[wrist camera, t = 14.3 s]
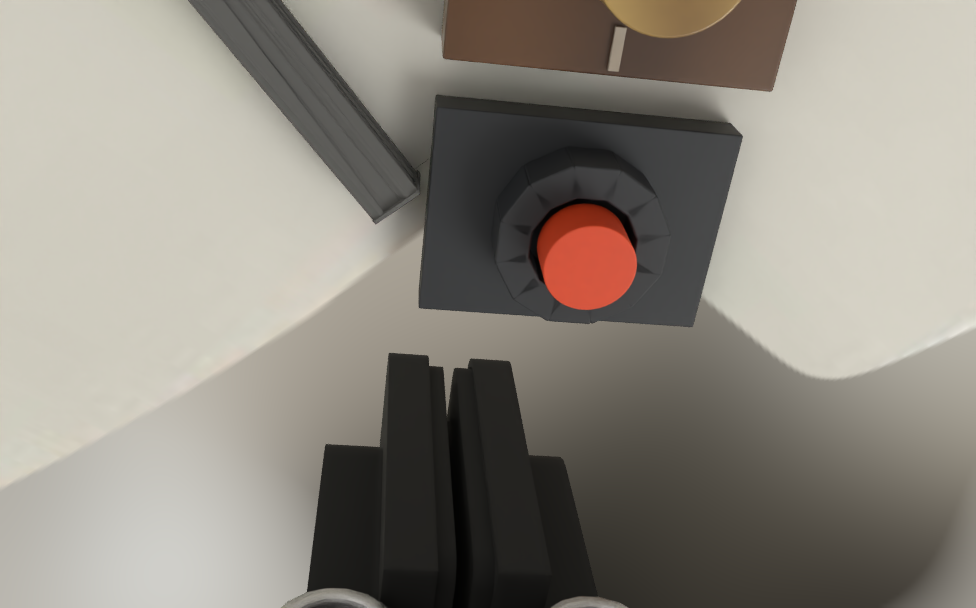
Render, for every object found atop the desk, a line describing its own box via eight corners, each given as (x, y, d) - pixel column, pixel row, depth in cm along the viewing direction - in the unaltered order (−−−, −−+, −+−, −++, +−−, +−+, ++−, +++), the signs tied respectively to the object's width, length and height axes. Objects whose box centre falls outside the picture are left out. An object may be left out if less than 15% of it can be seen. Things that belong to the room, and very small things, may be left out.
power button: (531, 280, 32) (536, 307, 31) (543, 199, 31) (550, 221, 29) (616, 287, 33) (627, 313, 31) (633, 206, 31) (645, 229, 29)
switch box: (418, 290, 36) (418, 335, 33) (435, 94, 32) (437, 124, 29) (683, 309, 37) (707, 354, 34) (731, 123, 33) (762, 155, 30)
